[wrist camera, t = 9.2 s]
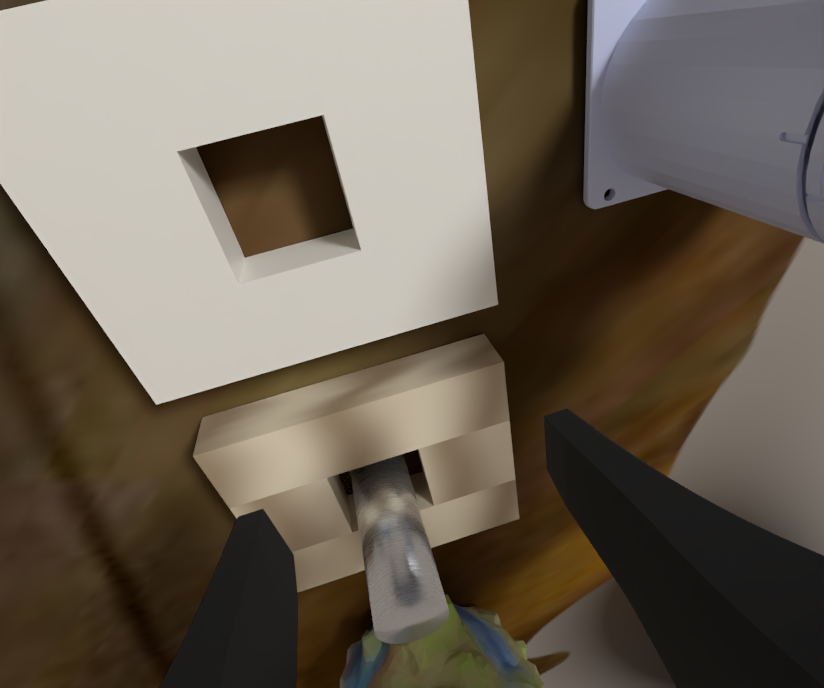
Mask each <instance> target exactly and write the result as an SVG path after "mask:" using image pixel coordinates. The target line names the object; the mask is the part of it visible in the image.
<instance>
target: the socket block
mask: <svg viewBox="0 0 824 688" xmlns="http://www.w3.org/2000/svg"><path fill="white" fill-rule="evenodd" d="M321 115H322V119H323V122H324V126H325V129H326V133H327V136H328V140H329V144H330V147H331V151H332V154H333V158H334V161H335V165H336V169H337V172H338V176H339V179H340V183H341V186H342V190H343V193H344V197H345V201H346V204H347V208H348V211H349V215H350V218H351V222H352V226H353V229H349V230H345V231H342V232H338V233H334V234H331V235H327V236H323V237H320V238H316V239H312V240H309V241H305V242H301V243H298V244H294V245H290V246H287V247H283V248H279V249H276V250H272V251H268V252H265V253H261V254H257V255H254V256H250V257H246V258H245V257H244V255H243V253H242V250H241V248H240V246H239V244H238V241H237V239H236V237H235V235H234V232H233V230H232V228H231V225H230V223H229V221H228V219H227V216H226V214H225V212H224V210H223V207H222V205H221V203H220V201H219V198H218V196H217V194H216V191H215V189H214V187H213V185H212V182H211V180H210V178H209V176H208V173H207V171H206V169H205V166H204V164H203V162H202V160H201V157H200V155H199V153H198V151H197V148H196V147H197V146H201V145H205V144H209V143H213V142H217V141H221V140H225V139H229V138H233V137H237V136H241V135H245V134H249V133H253V132H257V131H261V130H265V129H269V128H273V127H277V126H281V125H285V124H289V123H293V122H297V121H301V120H305V119H309V118H313V117H317V116H321ZM0 184H1V185H2V187H3V188H4V189H5V191H6V192H7V194H8V195H9V197H10V198H11V199H12V201H13V202H14V204H15V205H16V206H17V208H18V209H19V211H20V212H21V214H22V215H23V216H24V218H25V219H26V221H27V222H28V224H29V225H30V226H31V228H32V229H33V231H34V232H35V233H36V235H37V236H38V238H39V239H40V241H41V242H42V243H43V245H44V246H45V248H46V249H47V250H48V252H49V253H50V255H51V256H52V258H53V259H54V260H55V262H56V263H57V265H58V266H59V267H60V269H61V270H62V272H63V273H64V275H65V276H66V277H67V279H68V280H69V282H70V283H71V284H72V286H73V287H74V289H75V290H76V292H77V293H78V294H79V296H80V297H81V299H82V300H83V302H84V303H85V304H86V306H87V307H88V309H89V310H90V311H91V313H92V314H93V316H94V317H95V319H96V320H97V321H98V323H99V324H100V326H101V327H102V328H103V330H104V331H105V333H106V334H107V336H108V337H109V338H110V340H111V341H112V343H113V344H114V345H115V347H116V348H117V350H118V351H119V353H120V354H121V355H122V357H123V358H124V360H125V361H126V362H127V364H128V365H129V367H130V368H131V370H132V371H133V372H134V374H135V375H136V377H137V378H138V379H139V381H140V382H141V384H142V385H143V387H144V388H145V389H146V391H147V392H148V394H149V395H150V397H151V398H152V399H153V401H154V402H155V404H156V405H157V404H161V403H164V402H168V401H171V400H175V399H178V398H181V397H185V396H188V395H192V394H195V393H198V392H202V391H205V390H209V389H212V388H215V387H219V386H222V385H226V384H229V383H232V382H236V381H239V380H243V379H246V378H250V377H253V376H256V375H260V374H263V373H267V372H270V371H273V370H277V369H280V368H284V367H287V366H290V365H294V364H297V363H301V362H304V361H308V360H311V359H314V358H318V357H321V356H325V355H328V354H331V353H335V352H338V351H342V350H345V349H348V348H352V347H355V346H359V345H362V344H365V343H369V342H372V341H376V340H379V339H383V338H386V337H389V336H393V335H396V334H400V333H403V332H406V331H410V330H413V329H417V328H420V327H423V326H427V325H430V324H434V323H437V322H441V321H444V320H447V319H451V318H454V317H458V316H461V315H464V314H468V313H471V312H475V311H478V310H481V309H485V308H488V307H492V306H495V305H498V298H497V288H496V278H495V268H494V258H493V247H492V237H491V227H490V217H489V207H488V197H487V187H486V177H485V167H484V157H483V146H482V136H481V126H480V116H479V106H478V96H477V86H476V76H475V66H474V56H473V45H472V35H471V25H470V15H469V5H468V0H47V1H42V2H38V3H33V4H29V5H24V6H20V7H15V8H11V9H6V10H2V11H0Z"/></svg>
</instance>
